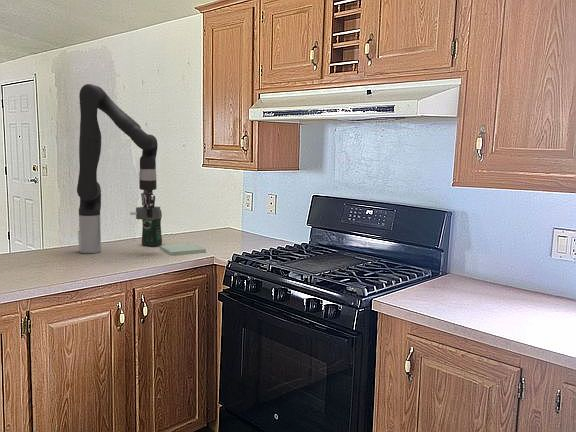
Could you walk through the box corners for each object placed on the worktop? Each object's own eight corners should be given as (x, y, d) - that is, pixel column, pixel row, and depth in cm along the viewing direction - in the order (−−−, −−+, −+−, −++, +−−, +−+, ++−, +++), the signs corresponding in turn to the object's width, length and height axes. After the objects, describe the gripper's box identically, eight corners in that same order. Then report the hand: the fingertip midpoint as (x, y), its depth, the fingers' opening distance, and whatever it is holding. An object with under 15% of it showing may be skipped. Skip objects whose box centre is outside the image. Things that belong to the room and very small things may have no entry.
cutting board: (171, 255, 239) (171, 252, 239) (159, 249, 252) (159, 245, 252) (205, 252, 248) (205, 249, 247) (193, 246, 261) (193, 243, 261)
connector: (132, 219, 233) (132, 208, 232) (129, 218, 237) (129, 207, 236) (161, 218, 240) (161, 207, 239) (158, 217, 244) (158, 206, 243)
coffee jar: (164, 244, 263) (164, 208, 260) (154, 247, 256) (154, 209, 253) (149, 242, 267) (148, 206, 264) (138, 245, 259) (138, 208, 257)
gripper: (135, 178, 241) (135, 215, 243) (144, 180, 229) (144, 219, 231) (151, 177, 245) (151, 214, 247) (161, 180, 233) (161, 218, 235)
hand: (148, 216), depth 239 cm, fingers closed on connector, 4 cm apart
